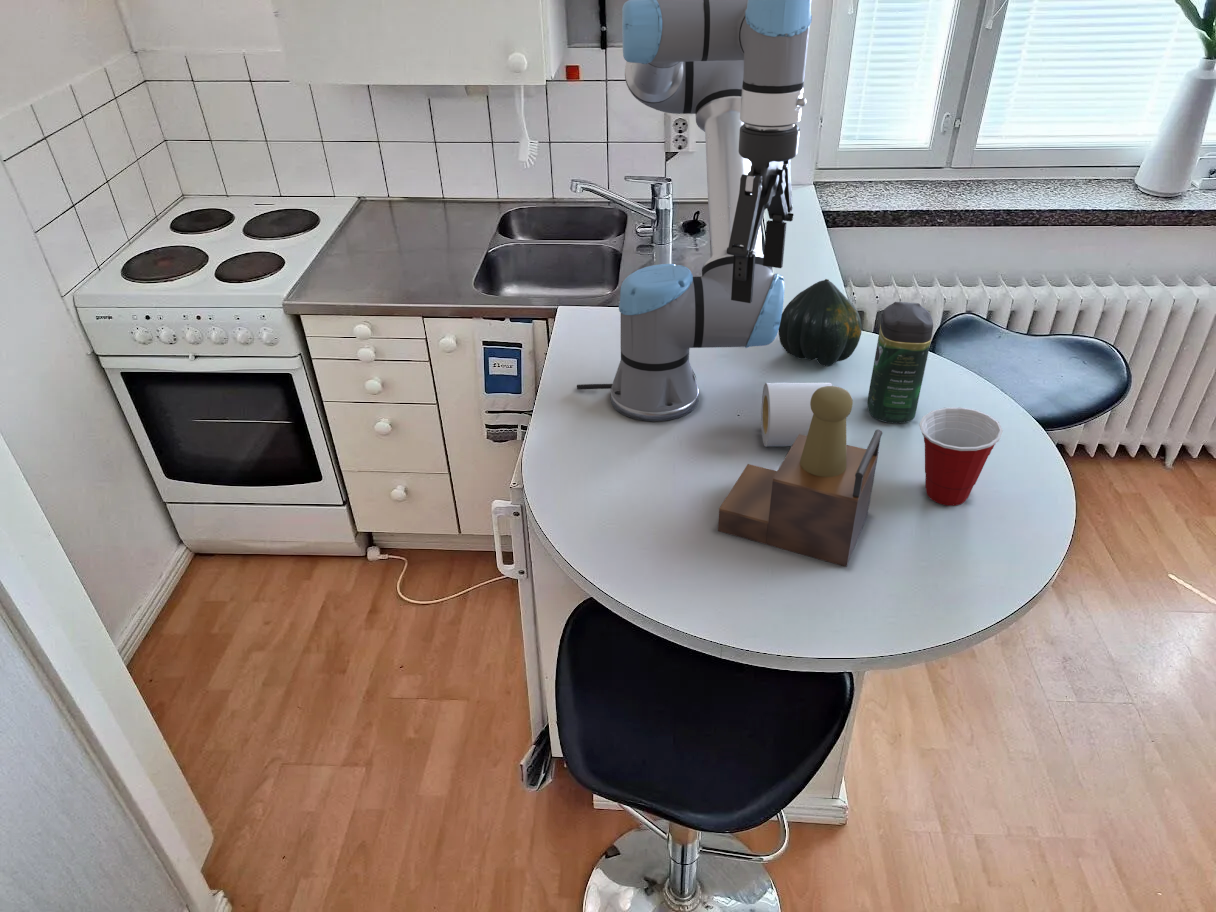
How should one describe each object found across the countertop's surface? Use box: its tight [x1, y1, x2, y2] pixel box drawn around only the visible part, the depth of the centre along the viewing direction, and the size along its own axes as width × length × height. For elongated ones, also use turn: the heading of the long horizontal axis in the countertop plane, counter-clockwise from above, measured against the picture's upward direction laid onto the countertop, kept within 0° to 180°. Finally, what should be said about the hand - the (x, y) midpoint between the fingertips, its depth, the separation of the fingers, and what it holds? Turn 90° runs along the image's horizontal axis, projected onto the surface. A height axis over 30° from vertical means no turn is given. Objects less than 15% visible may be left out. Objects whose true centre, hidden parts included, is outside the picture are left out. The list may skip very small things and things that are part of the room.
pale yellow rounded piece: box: [800, 385, 854, 477], centre depth 112 cm, size 6×6×11 cm
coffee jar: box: [866, 301, 934, 424], centre depth 142 cm, size 10×8×19 cm
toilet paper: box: [760, 382, 834, 447], centre depth 137 cm, size 10×10×10 cm
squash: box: [778, 278, 863, 367], centre depth 162 cm, size 14×15×15 cm
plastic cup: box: [918, 406, 1004, 507], centre depth 124 cm, size 11×11×12 cm
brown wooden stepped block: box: [717, 429, 883, 568], centre depth 118 cm, size 18×12×15 cm, turn 63°
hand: (757, 283), depth 121 cm, fingers open, 13 cm apart
